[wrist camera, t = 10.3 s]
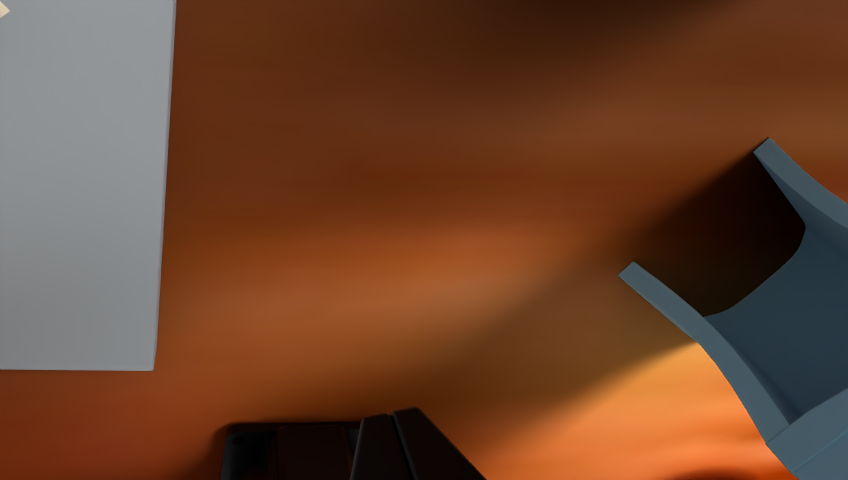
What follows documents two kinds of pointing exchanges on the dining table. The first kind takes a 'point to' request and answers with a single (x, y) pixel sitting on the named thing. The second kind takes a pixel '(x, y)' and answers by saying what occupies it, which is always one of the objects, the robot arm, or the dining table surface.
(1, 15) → the flange plate
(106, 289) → the board
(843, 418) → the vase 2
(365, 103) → the dining table surface
